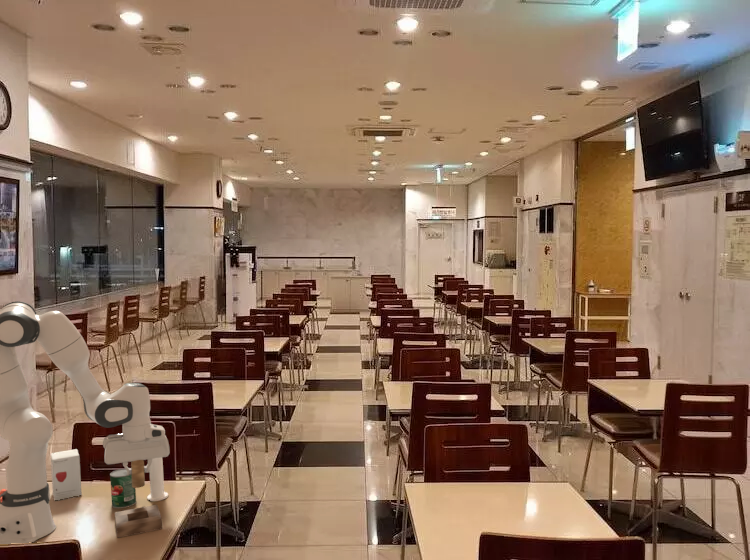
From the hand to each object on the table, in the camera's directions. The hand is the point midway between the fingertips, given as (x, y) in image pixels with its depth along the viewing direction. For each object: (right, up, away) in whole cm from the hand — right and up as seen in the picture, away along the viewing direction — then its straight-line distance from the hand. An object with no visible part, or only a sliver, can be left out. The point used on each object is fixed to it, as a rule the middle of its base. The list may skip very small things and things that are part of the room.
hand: (137, 473), depth 219 cm
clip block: (+4, -14, -10) cm, 17 cm away
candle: (+2, -12, +13) cm, 18 cm away
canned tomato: (-8, -13, +8) cm, 17 cm away
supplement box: (-32, -13, +18) cm, 39 cm away
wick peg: (0, -4, 0) cm, 4 cm away
